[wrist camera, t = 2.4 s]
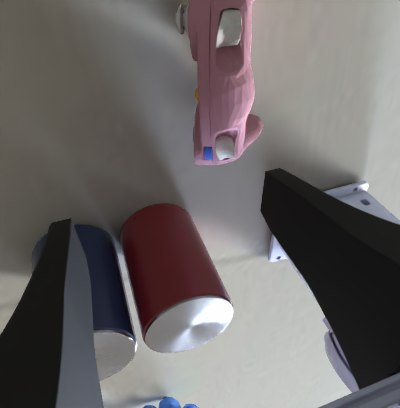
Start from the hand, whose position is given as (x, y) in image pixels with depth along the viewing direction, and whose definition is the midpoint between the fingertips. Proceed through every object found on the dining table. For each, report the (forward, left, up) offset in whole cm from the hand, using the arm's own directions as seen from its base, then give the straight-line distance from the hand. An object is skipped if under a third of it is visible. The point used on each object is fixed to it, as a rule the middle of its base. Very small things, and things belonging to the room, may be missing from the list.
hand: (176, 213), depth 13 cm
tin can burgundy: (-1, +11, -10) cm, 16 cm away
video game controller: (-5, -2, -11) cm, 12 cm away
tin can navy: (+6, +11, -10) cm, 17 cm away
